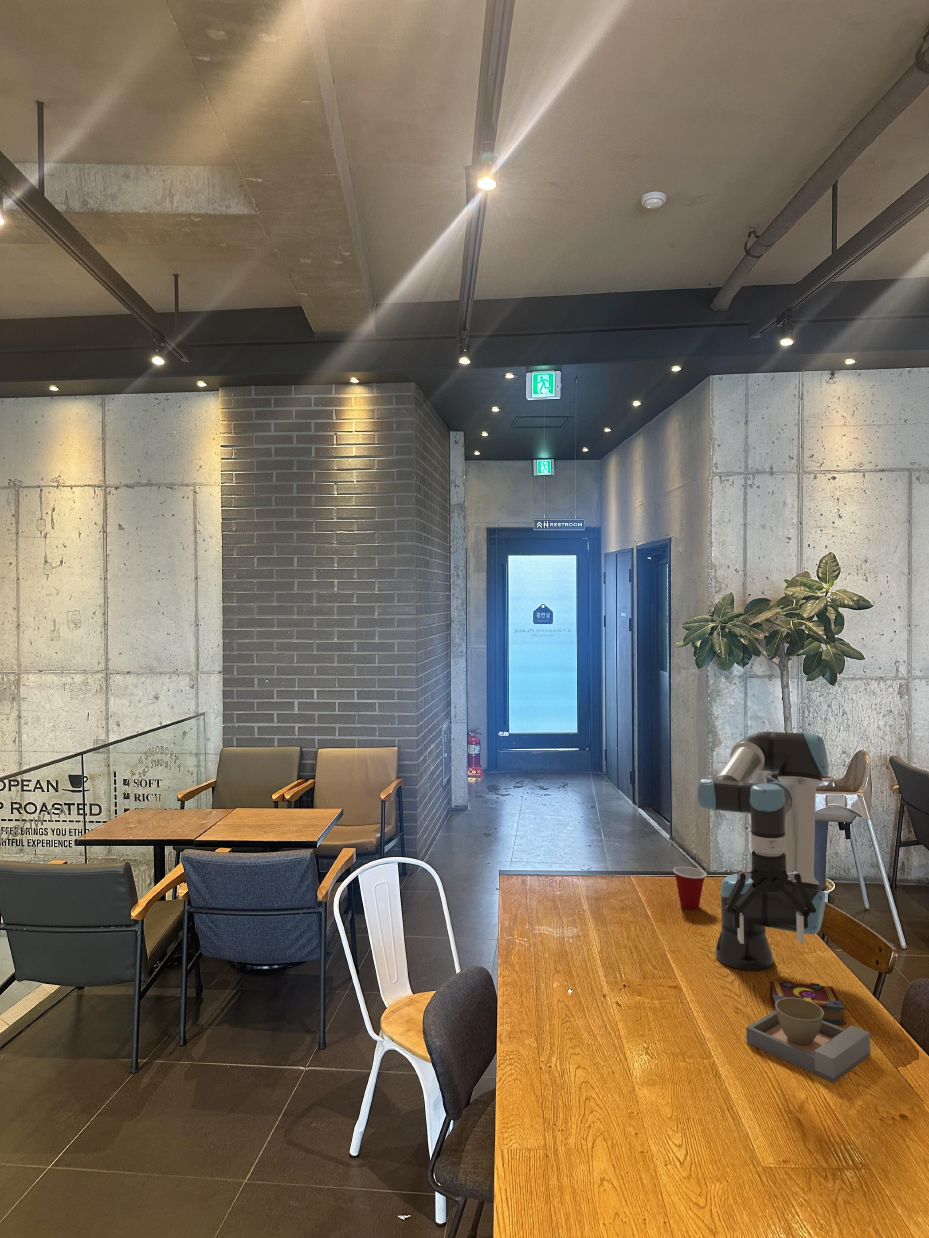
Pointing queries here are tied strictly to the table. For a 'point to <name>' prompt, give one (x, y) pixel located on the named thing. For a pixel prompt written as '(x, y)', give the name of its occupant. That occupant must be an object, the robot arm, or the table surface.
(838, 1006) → the decorative book
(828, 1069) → the grey open tray
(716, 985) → the table surface
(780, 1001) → the flower pot
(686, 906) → the plastic cup
